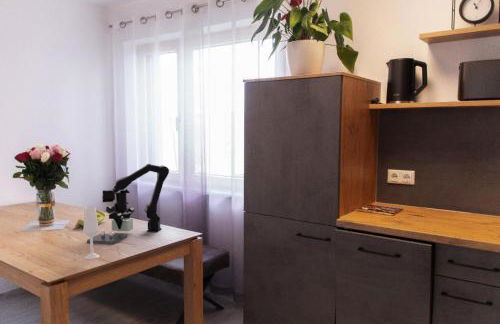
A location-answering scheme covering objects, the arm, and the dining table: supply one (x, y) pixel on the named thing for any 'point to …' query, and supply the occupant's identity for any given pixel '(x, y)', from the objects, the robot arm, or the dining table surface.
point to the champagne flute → (90, 228)
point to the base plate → (107, 238)
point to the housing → (123, 225)
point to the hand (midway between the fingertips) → (122, 227)
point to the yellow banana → (99, 218)
